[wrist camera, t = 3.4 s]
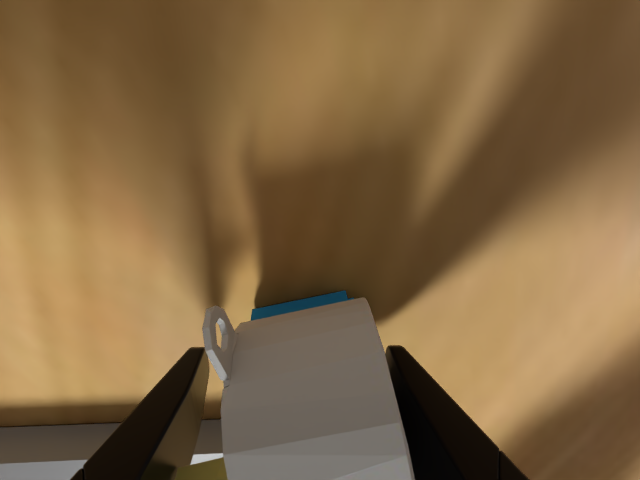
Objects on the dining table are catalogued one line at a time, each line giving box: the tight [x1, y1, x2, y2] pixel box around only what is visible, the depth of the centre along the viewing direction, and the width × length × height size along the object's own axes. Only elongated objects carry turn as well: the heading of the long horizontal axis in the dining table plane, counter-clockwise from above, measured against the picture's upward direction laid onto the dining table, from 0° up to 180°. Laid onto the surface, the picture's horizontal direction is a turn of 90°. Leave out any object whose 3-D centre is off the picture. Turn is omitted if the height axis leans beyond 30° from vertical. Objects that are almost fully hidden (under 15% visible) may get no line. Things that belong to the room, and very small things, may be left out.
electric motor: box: [175, 290, 415, 480], centre depth 8 cm, size 7×5×5 cm
